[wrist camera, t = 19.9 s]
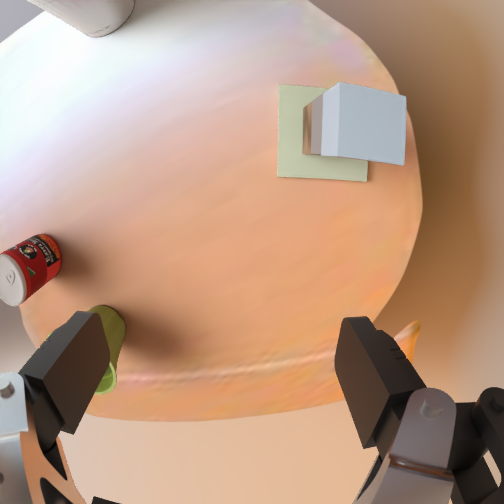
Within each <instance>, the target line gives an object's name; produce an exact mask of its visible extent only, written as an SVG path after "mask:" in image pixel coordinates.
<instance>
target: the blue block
mask: <svg viewBox="0 0 504 504" xmlns="http://www.w3.org/2000/svg"><path fill="white" fill-rule="evenodd" d="M405 141H406V96H402V95H398V94H395V93H391V92H386V91H382V90H378V89H374V88H369V87H364V86H359V85H354V84H349V83H343V82H339V83H337V84H336V85H335V86H333V87H332V88H330V89H329V90H328V91H326V92H325V93H323V117H322V143H321V156H330V157H340V158H349V159H357V160H364V161H372V162H379V163H387V164H396V165H403V166H404V159H405Z"/></svg>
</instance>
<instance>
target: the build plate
mask: <svg viewBox="0 0 504 504" xmlns="http://www.w3.org/2000/svg"><path fill="white" fill-rule="evenodd" d="M328 90H329V89H326V88H317V87H307V86H296V85H281V84H279V86H278V153H277V176H278V177H301V178H321V179H337V180H351V181H363V182H367V170H368V161H364V160H357V159H349V158H340V157H330V156H321V155H309V154H302V147H303V108H304V107H305V106H306V105H308V104H309V103H310V102H312V101H313V100H314V99H316V98H317V97H318V96H320V95H321V94H322V93H324V92H326V91H328Z"/></svg>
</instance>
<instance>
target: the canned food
mask: <svg viewBox="0 0 504 504" xmlns="http://www.w3.org/2000/svg"><path fill="white" fill-rule="evenodd" d="M61 263H62V258H61V252H60V249H59V247H58V245H57V243H56V242H55V241H54V240H53V239H52V238H51V237H50V236H48V235H45V234H38V235H35V236H33V237H31V238H29V239H27V240H25V241H23V242H21V243H19V244H17V245H15V246H13V247H12V248H10V249H8V250H6V251H4V252H3V253H1V254H0V298H1V299H2V300H3V301H4V302H5V303H7V304H8V305H10V306H18V305H20V304H22V303H23V302H24V301H25V300H27V299H28V298H29V297H30V296H31V295H33V294H34V293H35V292H36V291H37V290H39V289H40V288H41V287H42V286H43V285H45V284H46V283H47V282H48V281H50V280H51V279H52V278H53V277H55V276H56V275H57V273H58V271H59V270H60V267H61Z"/></svg>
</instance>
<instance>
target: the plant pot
mask: <svg viewBox="0 0 504 504" xmlns="http://www.w3.org/2000/svg"><path fill="white" fill-rule="evenodd" d="M87 312H94V313H98V314H99V315H100V317H101V320H102V324H103V328H104V332H105V335H106V339H107V342H108V346H109V349H110V364H109V367H108V369H107V370H106V372H105V374H104V376H103V378H102V380H101V382H100V384H99V385H98V387H97V389H96V391H95V393H94V394H96V395H102V394H107V393H109V392H111V391H112V390H113V389H114V388H115V386H116V382H117V376H116V369H117V361H118V357H119V353H120V350H121V347H122V343H123V340H124V336H125V333H126V327H125V323H124V321H123V319H122V318H121V317H120V316H119V315H118V314H117V313H116V311H114V310H113V309H111V308H109V307H107V306H95V307H93V308H92V309H90V310H89V311H87ZM51 333H52V332H51ZM51 333H50V334H51ZM50 334H49V335H48V337H49V336H50ZM48 337H47V338H48Z"/></svg>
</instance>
